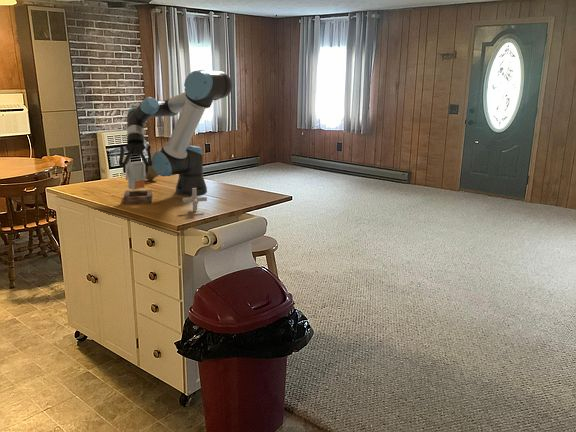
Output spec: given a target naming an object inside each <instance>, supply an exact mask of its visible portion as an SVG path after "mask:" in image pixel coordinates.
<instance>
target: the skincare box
mask: <svg viewBox="0 0 576 432" xmlns="http://www.w3.org/2000/svg"><path fill="white" fill-rule="evenodd" d="M127 168H128V180H127V184H128V189H129V190H140V189H145V179H144V162H143V161H140V160H137V161H131V162H130V161H129V162H128V163H127Z"/></svg>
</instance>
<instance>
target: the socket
mask: <svg viewBox="0 0 576 432" xmlns="http://www.w3.org/2000/svg"><path fill="white" fill-rule="evenodd" d="M122 199H123V205H139V203H145V204H152V203H153V190H152V189H141V190H140V189H135V190H133V189H131V190H125V191H124V194H123V197H122Z"/></svg>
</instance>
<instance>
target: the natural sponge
mask: <svg viewBox="0 0 576 432" xmlns="http://www.w3.org/2000/svg"><path fill="white" fill-rule="evenodd" d="M159 176H160V175H159V174H158V173H157V172H156V171H155V170H154V167H153V164H152V166H148V172H146V179H145V180H147V181H153V180H154V179H156V178H157V177H159Z"/></svg>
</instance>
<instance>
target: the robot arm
mask: <svg viewBox="0 0 576 432" xmlns="http://www.w3.org/2000/svg"><path fill="white" fill-rule="evenodd" d="M183 86H184V87H185V88H184V92H181V93H180V94H177V95H175V96H172V97H170V98H168V99H165V100H157V99H156V98H153V97H151V96H147V97H146V98H144V99H143V100H142V101H141V102H140V103H139V104H138V105H137V106H136V107H135V106H134V107H132V108H129V109H128V110H127V115H126V126H127V129H126V131H127V132H126V136H127V138H126V145H125V146H123V145H120V146H119V147H120V154H119V159H118V165H119V167H122V172H123V173H124V174H125V180H127V181H128V168H127V163H129V162H130V160H131V158H132V157H133V156H134V155H138V156H139V157H140V158H141V160H142V162H143V163H144V180H147V179H146V172H148V166H152V164H153V167H154V170H155V171H156V172H157V173H158V174H159V175H158V176H160V177H171V176H174V175H178V179H177V183H176V185H175V194H178V195H181V196H192V188H197V196H198V195H204V194H206V193H207V192H208V187H207V184H206V182H205V178H204V166H203V165H204V163H203V162H204V161H203V160H204V159H203V156H204V154H203V148H202V147H201V146H199V145H191V144H190V143H191V141H192V138H193V136H194V134H195V131H196V129H197V127H198V126H199V123H200V121H201V119H202V117H203V114H204V112H205V111H206V109H209V108H211V106H212V104H213V101H217V100H218V101H219V100H220V99H224V98H226V97H228V96H229V95H230V93H231V92H232V90H233V82H232V79H231V77H230V76H229V74H227V73H226V72H224V71H222V70H204V69H199V70H195V71H193V70H192V71H191V72H190V73H189V74H187V76H186V78H185V79H184V84H183ZM179 113H180V115H179V116H178V114H179ZM174 116H178V119H177V121H176V124H175V126H174V128H173V130H172V133H171V135H170V137H169V140H168V141H166V142H164V143H163V144H162V147H161V149H160V151H159V150H157V151H156V152H154V153H153V155H152V154H151V151H152V147H151V145H148V146H146V145H145V132H144V131H145V123H147V122H148V121H149V120H150V119H151V118H159V117H174ZM189 144H190V145H189ZM126 150H127V151H128V152H127V154H126V156H125V152H126ZM144 150H145V151H146V152H147V158H146V156H145V155H144ZM124 156H125V158H124Z"/></svg>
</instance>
